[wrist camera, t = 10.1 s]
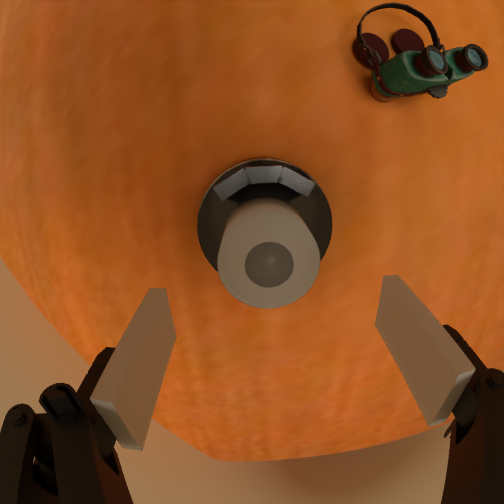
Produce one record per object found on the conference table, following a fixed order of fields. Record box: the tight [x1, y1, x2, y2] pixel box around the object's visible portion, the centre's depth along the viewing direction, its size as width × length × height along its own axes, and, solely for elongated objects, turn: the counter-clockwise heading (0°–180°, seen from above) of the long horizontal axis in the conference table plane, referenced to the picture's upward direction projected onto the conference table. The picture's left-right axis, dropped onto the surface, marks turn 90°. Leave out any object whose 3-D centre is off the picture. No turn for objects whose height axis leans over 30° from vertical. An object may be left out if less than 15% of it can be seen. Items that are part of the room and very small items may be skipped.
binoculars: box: [353, 3, 488, 102], centre depth 17 cm, size 9×11×10 cm
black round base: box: [197, 157, 332, 273], centre depth 25 cm, size 11×11×6 cm
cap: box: [217, 195, 320, 308], centre depth 21 cm, size 6×6×6 cm
